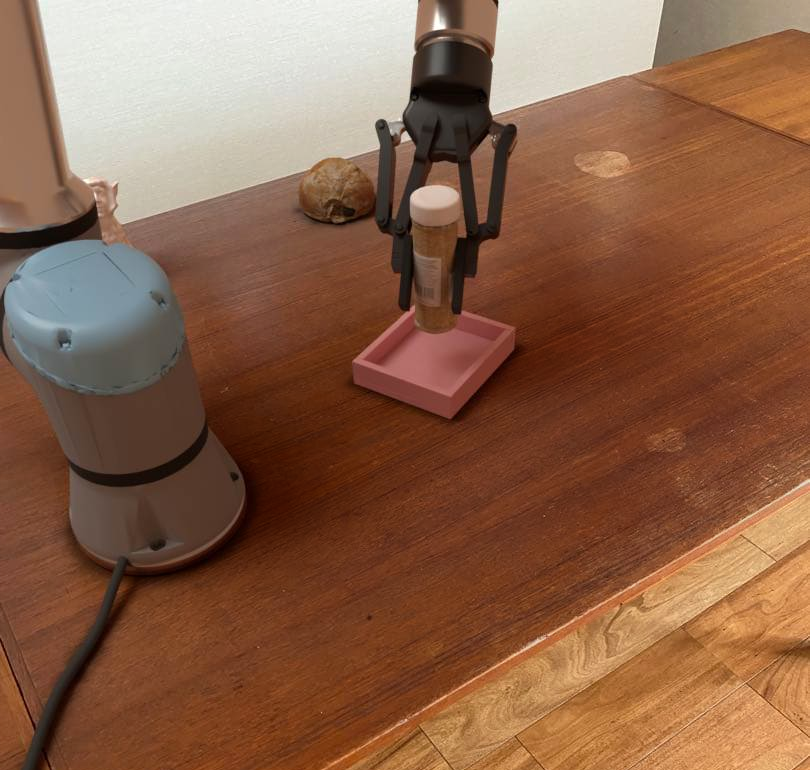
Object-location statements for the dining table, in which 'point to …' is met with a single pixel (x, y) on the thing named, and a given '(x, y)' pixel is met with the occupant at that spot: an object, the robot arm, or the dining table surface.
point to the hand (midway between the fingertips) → (430, 309)
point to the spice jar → (434, 256)
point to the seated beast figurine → (107, 210)
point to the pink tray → (434, 361)
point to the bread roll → (336, 191)
